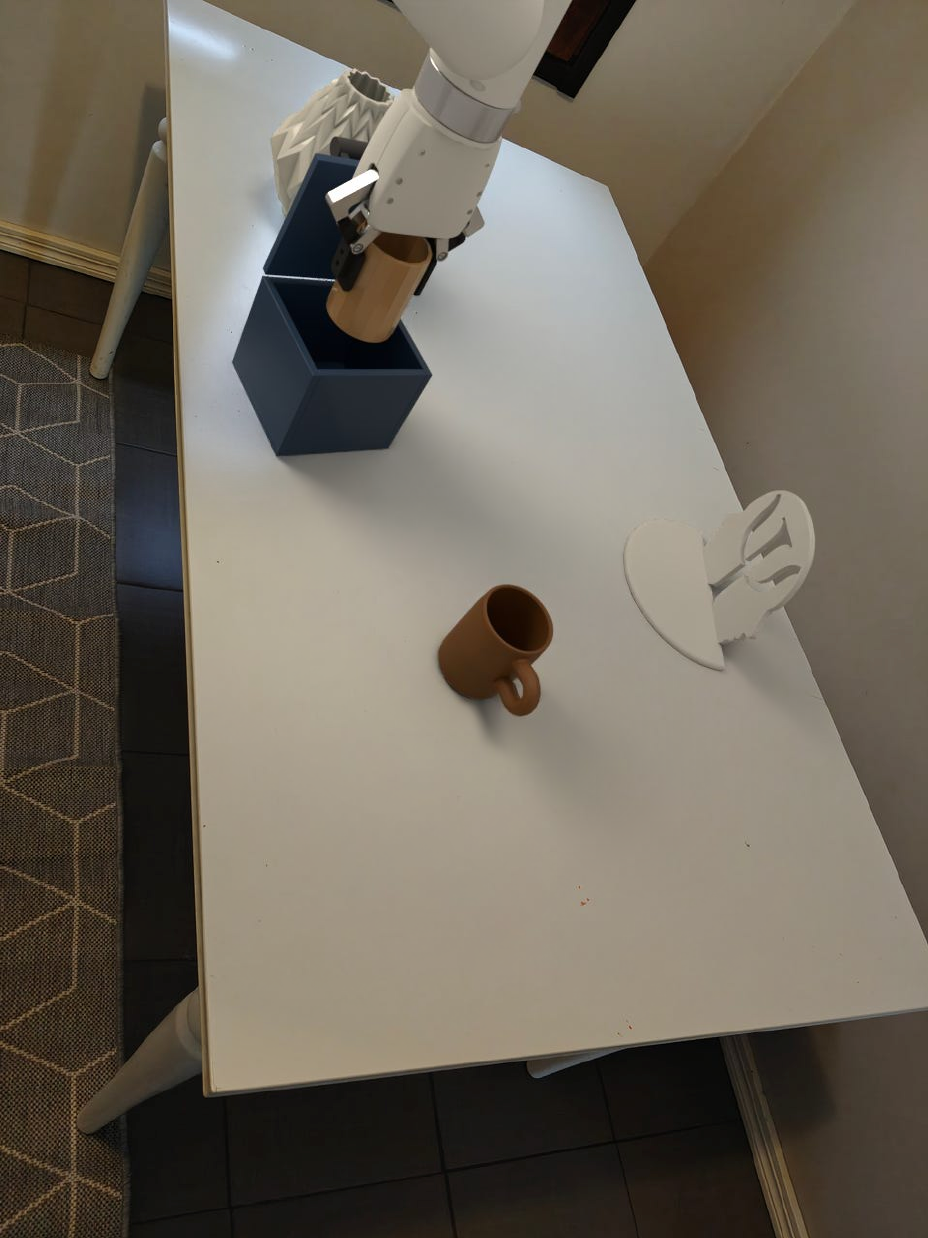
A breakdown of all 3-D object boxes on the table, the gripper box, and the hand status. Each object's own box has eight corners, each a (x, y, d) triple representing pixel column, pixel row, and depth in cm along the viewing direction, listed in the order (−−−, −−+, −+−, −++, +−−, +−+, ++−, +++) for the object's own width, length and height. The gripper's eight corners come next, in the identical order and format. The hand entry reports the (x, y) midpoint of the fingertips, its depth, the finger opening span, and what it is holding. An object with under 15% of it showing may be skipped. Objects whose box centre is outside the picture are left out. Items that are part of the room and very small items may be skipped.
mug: (523, 744, 81) (579, 701, 74) (454, 746, 77) (505, 701, 70) (494, 634, 87) (542, 584, 80) (428, 631, 83) (473, 578, 76)
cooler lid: (448, 181, 79) (426, 136, 80) (318, 159, 70) (296, 109, 72) (384, 283, 89) (366, 241, 90) (265, 274, 81) (246, 229, 82)
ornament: (723, 672, 101) (833, 598, 88) (631, 641, 96) (734, 558, 84) (699, 532, 113) (792, 450, 101) (617, 498, 109) (704, 408, 96)
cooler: (388, 448, 94) (433, 374, 85) (276, 456, 85) (313, 375, 77) (343, 362, 98) (381, 283, 89) (231, 361, 89) (262, 275, 81)
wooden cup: (318, 318, 79) (353, 237, 72) (335, 280, 83) (370, 199, 76) (384, 353, 81) (425, 277, 74) (398, 314, 85) (437, 238, 78)
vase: (235, 172, 107) (279, 21, 93) (350, 195, 116) (406, 60, 103) (274, 264, 101) (327, 117, 87) (392, 280, 110) (456, 150, 97)
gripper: (523, 89, 72) (433, 260, 85) (347, 42, 62) (275, 246, 75) (565, 149, 70) (466, 315, 83) (389, 111, 59) (307, 309, 72)
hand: (376, 281), depth 79 cm, fingers closed on wooden cup, 7 cm apart
